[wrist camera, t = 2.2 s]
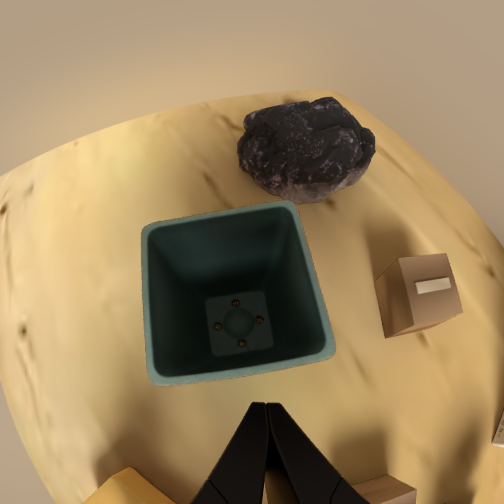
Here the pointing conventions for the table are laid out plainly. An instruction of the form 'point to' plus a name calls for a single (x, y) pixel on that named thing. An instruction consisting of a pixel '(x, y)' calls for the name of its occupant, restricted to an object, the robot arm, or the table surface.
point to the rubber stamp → (127, 490)
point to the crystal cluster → (305, 149)
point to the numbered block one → (417, 294)
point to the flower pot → (231, 295)
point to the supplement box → (499, 434)
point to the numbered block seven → (386, 491)
